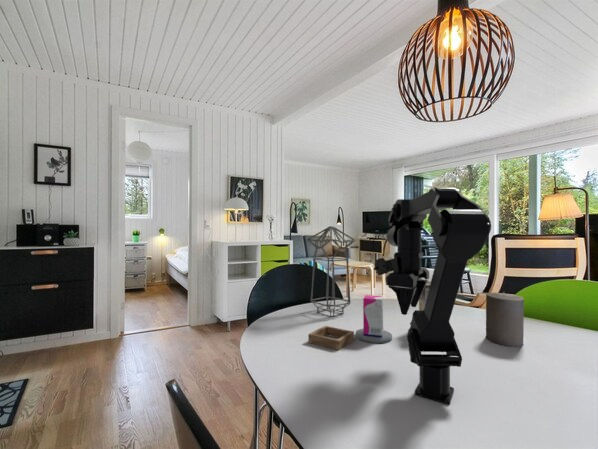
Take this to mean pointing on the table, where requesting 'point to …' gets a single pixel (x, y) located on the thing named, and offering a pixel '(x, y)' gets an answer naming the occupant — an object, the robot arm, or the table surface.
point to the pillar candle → (504, 319)
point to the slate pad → (386, 337)
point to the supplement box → (373, 316)
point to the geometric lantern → (332, 267)
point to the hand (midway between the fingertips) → (409, 310)
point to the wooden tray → (320, 339)
